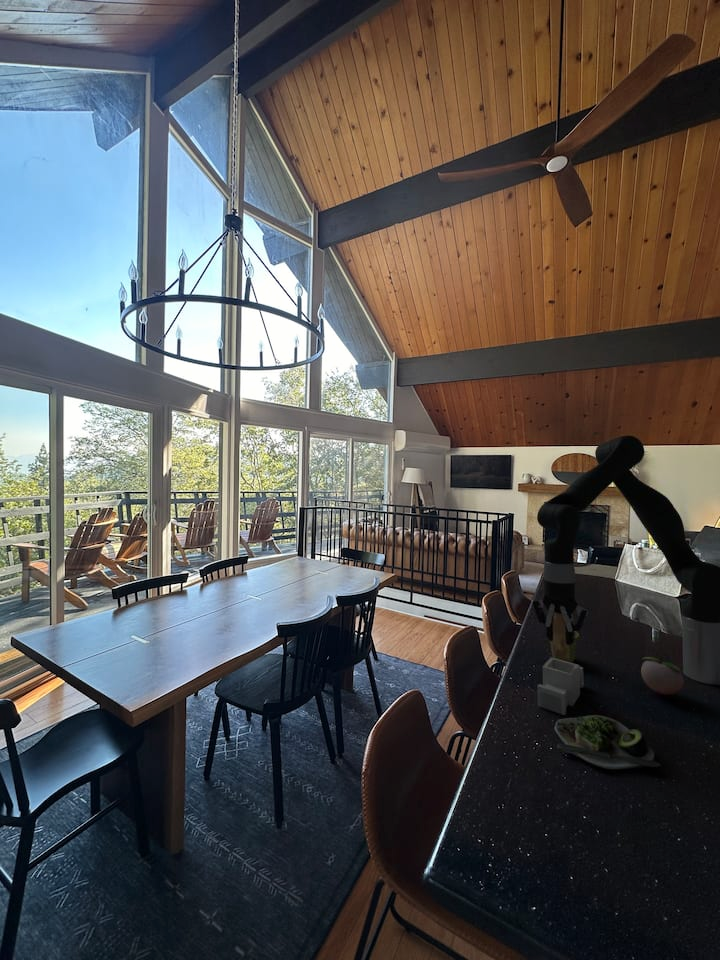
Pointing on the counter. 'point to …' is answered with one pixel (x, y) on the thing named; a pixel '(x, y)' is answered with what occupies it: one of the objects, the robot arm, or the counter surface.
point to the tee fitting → (559, 685)
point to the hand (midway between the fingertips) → (560, 641)
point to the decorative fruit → (662, 676)
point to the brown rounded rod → (559, 637)
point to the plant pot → (571, 650)
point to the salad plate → (605, 743)
